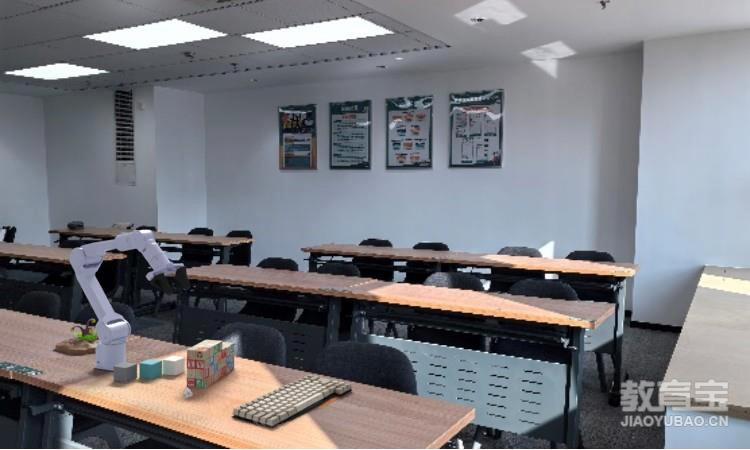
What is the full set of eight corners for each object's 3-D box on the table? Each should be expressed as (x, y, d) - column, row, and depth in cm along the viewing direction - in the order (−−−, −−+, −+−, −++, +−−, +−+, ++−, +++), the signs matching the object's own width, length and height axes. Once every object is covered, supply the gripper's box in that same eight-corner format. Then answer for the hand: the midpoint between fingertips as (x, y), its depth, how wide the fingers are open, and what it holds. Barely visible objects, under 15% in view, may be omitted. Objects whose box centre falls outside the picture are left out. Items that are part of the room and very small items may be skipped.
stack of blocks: (218, 367, 201) (218, 332, 200) (234, 368, 199) (235, 334, 199) (186, 387, 180) (186, 348, 179) (204, 388, 178) (204, 350, 178)
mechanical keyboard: (280, 434, 148) (281, 421, 147) (226, 419, 157) (226, 407, 157) (355, 392, 180) (355, 381, 180) (306, 381, 190) (306, 372, 190)
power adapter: (183, 397, 172) (183, 387, 171) (191, 395, 173) (191, 385, 173) (186, 400, 169) (186, 389, 169) (195, 398, 171) (195, 388, 171)
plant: (125, 346, 224) (125, 318, 224) (77, 358, 208) (77, 328, 207) (97, 338, 235) (96, 312, 235) (48, 349, 219) (48, 320, 218)
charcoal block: (113, 381, 183) (113, 366, 183) (124, 376, 188) (124, 361, 188) (125, 383, 182) (125, 368, 181) (137, 378, 186) (137, 363, 186)
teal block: (139, 377, 187) (139, 362, 187) (149, 373, 192) (149, 358, 192) (151, 379, 186) (151, 364, 185) (162, 375, 190) (162, 360, 190)
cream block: (162, 374, 192) (162, 359, 191) (172, 369, 196) (172, 355, 196) (175, 376, 190) (175, 361, 190) (184, 371, 195) (184, 357, 194)
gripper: (145, 256, 181) (168, 289, 178) (179, 247, 194) (201, 278, 191) (135, 269, 184) (158, 302, 182) (169, 260, 197) (191, 290, 194)
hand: (180, 290), depth 187 cm, fingers open, 7 cm apart
